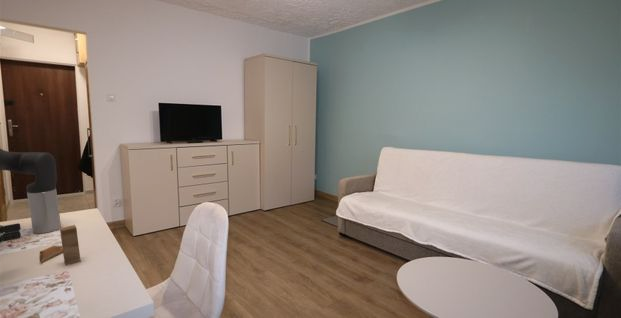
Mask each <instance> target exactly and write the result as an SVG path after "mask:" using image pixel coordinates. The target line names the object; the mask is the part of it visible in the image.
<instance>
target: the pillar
mask: <svg viewBox="0 0 621 318" xmlns="http://www.w3.org/2000/svg"><path fill="white" fill-rule="evenodd" d="M59 234H60V239H61V246H62V248H63V253H62V254H63V262H64V264H65V266H69V265H70V266H71V265H73V264H77V263H80V262H82V261H81V254H80V253H81V252H80V246H79V237H78V231H77V227H76V225H75V224H72V225H67V226H61V228H59Z"/></svg>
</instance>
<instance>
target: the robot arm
mask: <svg viewBox="0 0 621 318" xmlns="http://www.w3.org/2000/svg"><path fill="white" fill-rule="evenodd" d="M0 171H9V172H15V173H19V174H25V175H34V178H35V180H34V181H33V182H32V183H29V184H27V185H26V187H25V188H26V194H27V199H28V200H27V202H28V207H29V214H30V220H31V228H32V233H34V234H47V233H51V232H54V231H57V230H60V228H61V227H62V223H61V215H60V210H59V200H58V193H57V187H56V186H57V182H58V175H57V174H58V173H57V163H56V159H55V157H54V155H53V154H51V153H49V152H44V151H43V152H41V151H40V152H39V151H38V152H37V151H36V152H35V151H34V152H33V151H29V152H25V151H24V152H19V151H8V150H5V149H3V148H0ZM21 230H22V229H21V224H20V223H13V224H7V225H3V224H2V225H1V224H0V244H3V243H5V242H9V241H13V240H19V239H21V238H22V234H21Z"/></svg>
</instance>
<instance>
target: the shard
mask: <svg viewBox="0 0 621 318" xmlns="http://www.w3.org/2000/svg"><path fill="white" fill-rule="evenodd" d="M61 254H63V248H62V245H51V246H49V247H47V248H45V249H43V250H41V251H39V262H40V263H41V264H44V263H45V262H48V261H49V260H51V259H53V258H54V257H56V256H59V255H61Z"/></svg>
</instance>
